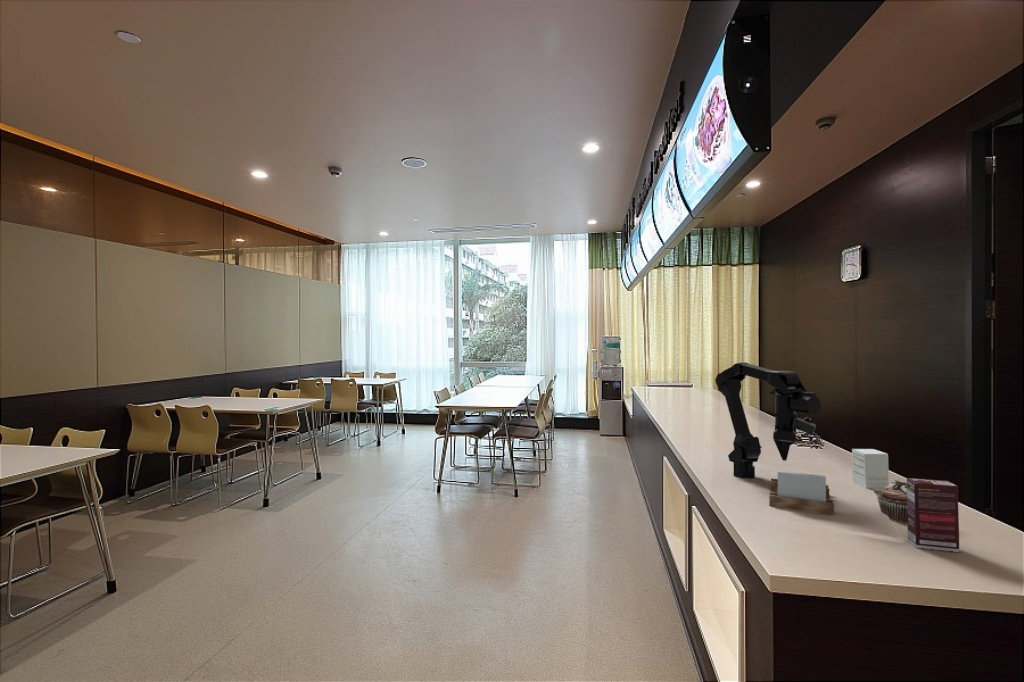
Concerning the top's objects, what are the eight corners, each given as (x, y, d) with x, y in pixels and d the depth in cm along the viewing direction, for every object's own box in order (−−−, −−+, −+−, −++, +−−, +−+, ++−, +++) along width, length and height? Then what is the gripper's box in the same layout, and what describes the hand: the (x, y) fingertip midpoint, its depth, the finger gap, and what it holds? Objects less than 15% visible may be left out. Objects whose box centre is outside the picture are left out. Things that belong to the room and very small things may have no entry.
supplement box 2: (948, 544, 116) (948, 480, 116) (960, 553, 111) (959, 486, 111) (905, 540, 119) (905, 477, 118) (915, 548, 114) (914, 482, 114)
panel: (777, 505, 141) (777, 471, 141) (777, 503, 143) (777, 470, 142) (825, 512, 135) (825, 477, 135) (825, 510, 137) (825, 476, 136)
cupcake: (880, 508, 140) (880, 475, 140) (923, 517, 134) (923, 482, 134) (874, 517, 134) (874, 482, 134) (919, 526, 127) (919, 489, 127)
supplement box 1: (874, 485, 163) (874, 448, 163) (889, 492, 155) (889, 453, 155) (851, 484, 163) (851, 448, 163) (865, 491, 156) (865, 453, 156)
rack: (769, 508, 141) (769, 495, 141) (771, 490, 158) (770, 478, 158) (834, 518, 133) (834, 504, 133) (828, 497, 150) (828, 485, 150)
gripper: (815, 416, 142) (814, 467, 143) (813, 407, 158) (812, 454, 159) (773, 413, 148) (772, 462, 149) (775, 405, 164) (775, 449, 164)
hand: (784, 457), depth 155 cm, fingers open, 9 cm apart
